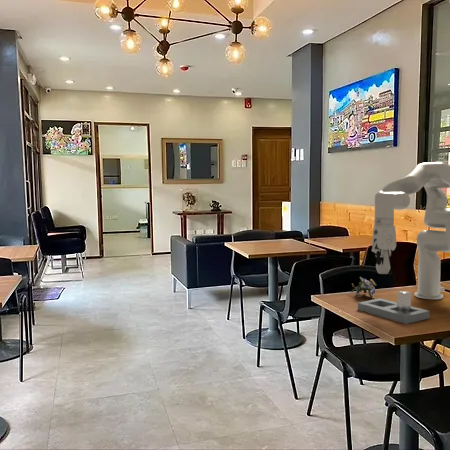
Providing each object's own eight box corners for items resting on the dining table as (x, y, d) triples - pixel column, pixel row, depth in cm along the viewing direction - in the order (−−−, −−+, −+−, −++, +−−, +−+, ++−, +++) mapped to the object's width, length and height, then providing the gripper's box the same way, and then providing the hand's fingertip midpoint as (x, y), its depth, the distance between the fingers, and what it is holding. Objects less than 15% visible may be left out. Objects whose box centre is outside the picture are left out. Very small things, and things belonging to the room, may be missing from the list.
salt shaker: (387, 275, 181) (387, 243, 180) (373, 273, 185) (374, 242, 184) (392, 272, 186) (393, 242, 184) (379, 271, 189) (379, 241, 188)
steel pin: (402, 314, 181) (402, 290, 180) (413, 317, 176) (413, 292, 175) (394, 316, 178) (394, 292, 177) (404, 319, 174) (405, 294, 173)
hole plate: (380, 305, 196) (380, 298, 195) (429, 318, 175) (429, 310, 175) (357, 309, 189) (357, 302, 188) (406, 324, 168) (406, 316, 168)
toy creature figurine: (371, 309, 209) (378, 292, 201) (348, 303, 211) (353, 287, 203) (372, 291, 217) (378, 274, 210) (350, 286, 220) (355, 270, 212)
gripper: (377, 223, 176) (377, 269, 178) (404, 221, 184) (403, 265, 186) (363, 222, 183) (362, 266, 184) (389, 220, 191) (388, 263, 192)
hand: (383, 265), depth 185 cm, fingers closed on salt shaker, 3 cm apart
